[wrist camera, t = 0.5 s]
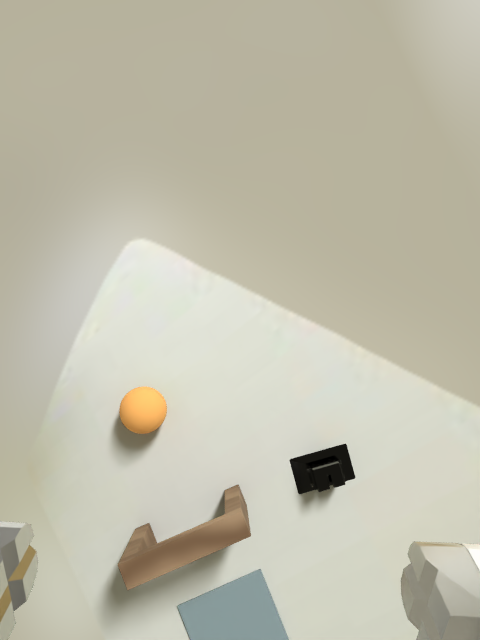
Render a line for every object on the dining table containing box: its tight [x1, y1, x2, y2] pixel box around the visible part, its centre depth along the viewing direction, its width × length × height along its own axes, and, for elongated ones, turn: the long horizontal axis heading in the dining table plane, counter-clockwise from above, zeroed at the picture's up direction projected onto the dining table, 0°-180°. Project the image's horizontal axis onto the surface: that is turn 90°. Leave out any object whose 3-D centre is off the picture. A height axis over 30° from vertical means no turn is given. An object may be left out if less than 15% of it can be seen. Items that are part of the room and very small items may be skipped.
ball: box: [120, 387, 167, 434], centre depth 57 cm, size 6×6×6 cm
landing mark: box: [177, 569, 289, 640], centre depth 58 cm, size 12×12×1 cm
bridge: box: [118, 485, 251, 590], centre depth 54 cm, size 3×15×10 cm, turn 112°
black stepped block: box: [290, 444, 355, 494], centre depth 58 cm, size 12×7×5 cm, turn 105°
